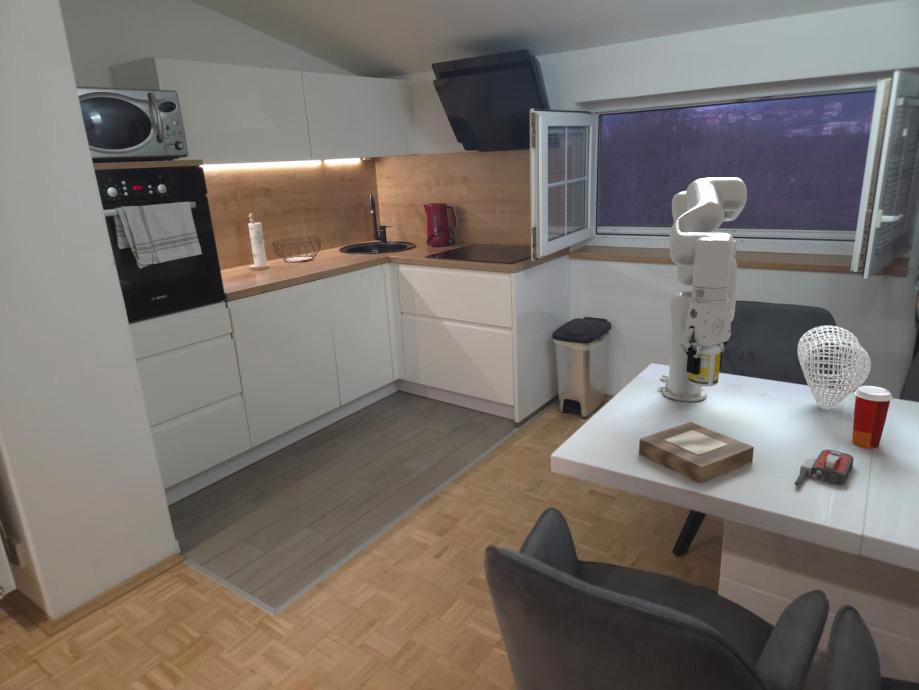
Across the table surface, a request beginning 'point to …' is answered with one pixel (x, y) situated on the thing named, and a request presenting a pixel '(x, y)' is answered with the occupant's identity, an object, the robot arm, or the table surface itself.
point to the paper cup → (870, 415)
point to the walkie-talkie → (827, 467)
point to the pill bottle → (707, 367)
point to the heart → (858, 363)
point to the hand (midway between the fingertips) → (703, 369)
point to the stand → (696, 451)
